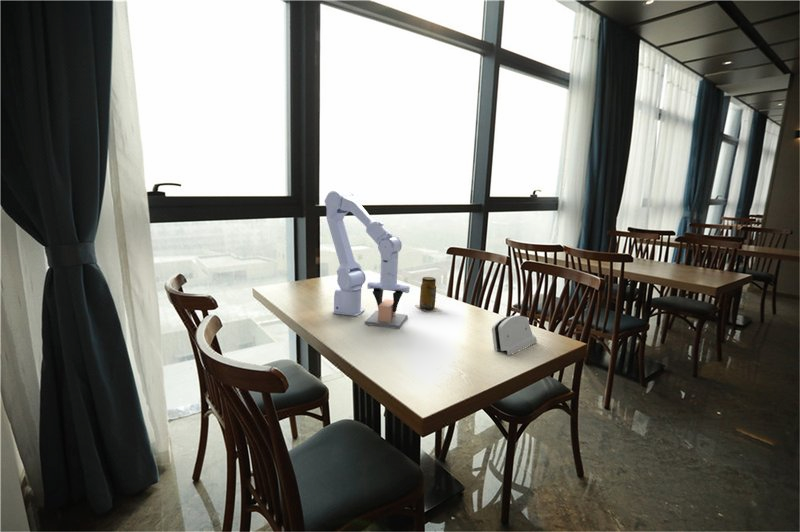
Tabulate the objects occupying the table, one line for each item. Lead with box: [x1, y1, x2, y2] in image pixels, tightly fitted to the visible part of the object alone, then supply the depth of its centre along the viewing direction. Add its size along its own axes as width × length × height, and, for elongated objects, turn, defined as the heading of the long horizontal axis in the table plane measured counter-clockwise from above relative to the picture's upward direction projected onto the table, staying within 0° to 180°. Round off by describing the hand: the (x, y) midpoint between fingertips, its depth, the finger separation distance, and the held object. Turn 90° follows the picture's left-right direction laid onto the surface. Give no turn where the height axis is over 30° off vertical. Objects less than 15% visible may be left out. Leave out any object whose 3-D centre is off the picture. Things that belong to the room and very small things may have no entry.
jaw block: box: [377, 298, 396, 322], centre depth 132 cm, size 4×8×6 cm, turn 166°
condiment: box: [415, 276, 441, 313], centre depth 149 cm, size 7×8×12 cm
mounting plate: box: [364, 310, 408, 330], centre depth 133 cm, size 12×12×1 cm
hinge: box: [491, 315, 538, 356], centre depth 116 cm, size 17×5×10 cm, turn 132°
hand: (387, 310), depth 132 cm, fingers open, 5 cm apart
